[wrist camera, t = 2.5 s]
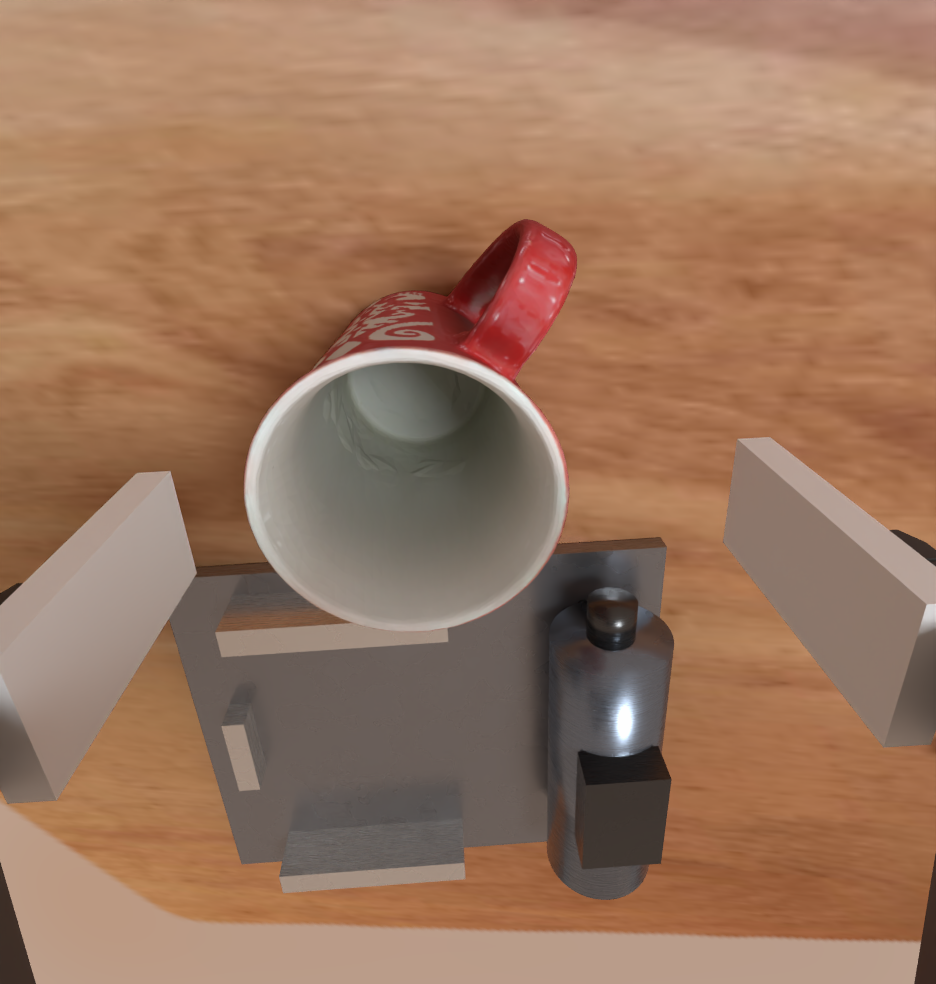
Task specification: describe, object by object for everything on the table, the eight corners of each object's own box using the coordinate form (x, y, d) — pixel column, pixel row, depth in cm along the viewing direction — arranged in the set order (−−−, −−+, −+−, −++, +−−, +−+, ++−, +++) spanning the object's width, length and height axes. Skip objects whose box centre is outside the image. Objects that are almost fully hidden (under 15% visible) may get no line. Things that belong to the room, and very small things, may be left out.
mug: (443, 495, 33) (450, 680, 21) (282, 397, 31) (185, 544, 19) (605, 282, 29) (729, 360, 17) (435, 148, 27) (438, 127, 14)
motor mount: (245, 850, 44) (206, 992, 36) (164, 569, 34) (88, 682, 27) (633, 821, 45) (675, 955, 37) (660, 537, 35) (724, 639, 27)
